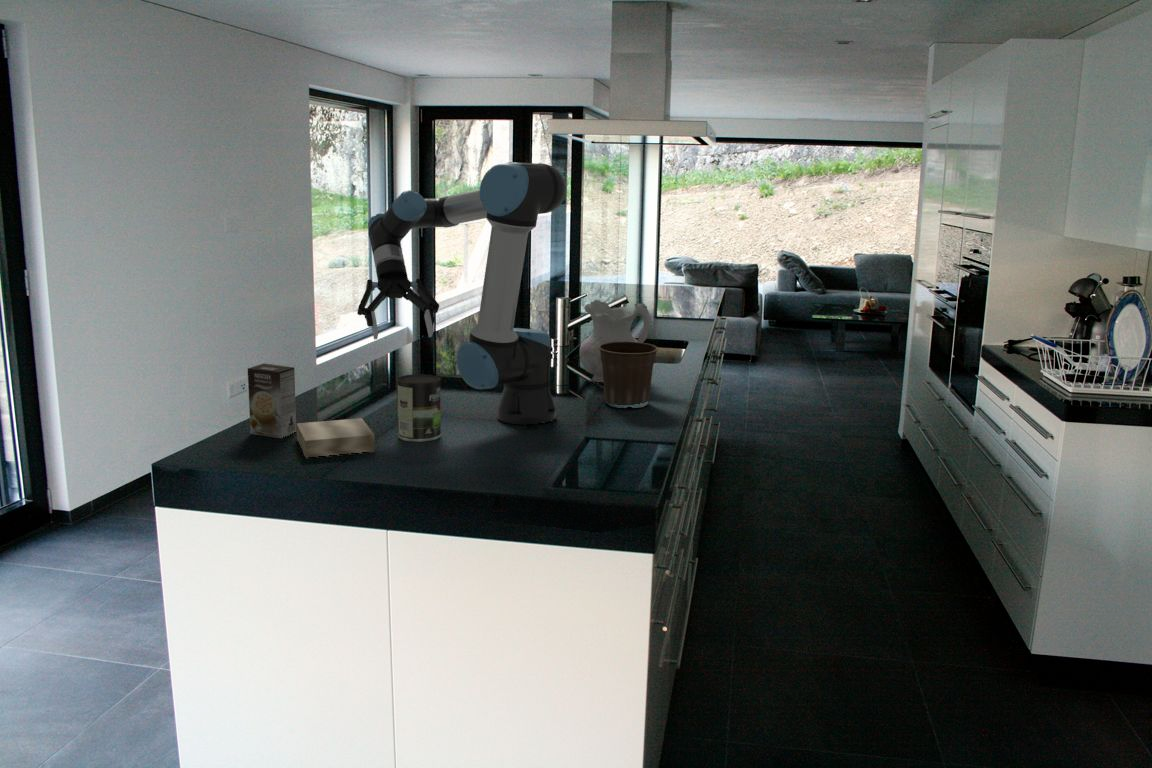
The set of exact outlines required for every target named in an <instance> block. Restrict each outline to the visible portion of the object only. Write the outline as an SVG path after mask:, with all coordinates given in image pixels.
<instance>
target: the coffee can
mask: <svg viewBox="0 0 1152 768" xmlns="http://www.w3.org/2000/svg"><path fill="white" fill-rule="evenodd" d="M441 381H442V379H441V377H439V376H437V375H435V374H434V375H432V374H425V373H424V374H421V373H419V374H405V375H402V376H399V377H398V376H397V378H396V381H395V382H396V385H397V386H396V389H397V390H396V391H397V394H396V395H397V431H398V432H397V438H398V439H400V440H402V441H406V442H412V443H422V442H431V441H435V440H438V439H439V438H441V436H442V429H441V427H442V426H441V421H442V419H441V417H442V416H441V415H442V413H441V406H442V405H441V403H442V402H441V401H442V400H441V396H442V395H441Z"/></svg>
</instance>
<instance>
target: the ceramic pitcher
mask: <svg viewBox="0 0 1152 768" xmlns="http://www.w3.org/2000/svg"><path fill="white" fill-rule="evenodd" d="M634 306H635V307H634V309H633V311H632V312H630V313H629V312H627V311H626V310H625V308H623V307H612V308H611V307H610V304H608V303H607V302H606V301H601V300H599V299H594V300H593V301H590V303H589V304H588V303H587V304H585V305H584V311H585V312H586V313H587V314H589V315H590V317H591V320H592V325H593V327H592V332H591V334H590V335H589V336H587V337H586V338H585V339H583V340H582V341H581V342H580V343H581V344H580V346H579V359H580V363H581V364H582V366H583V368H584V369H585V371H586V372H588V373H590V374H591V375H592V374H593V376H592V378H591V380H594V381H597V382H603V369H602V362H601V356H600V350H599V349H598V346H599V345H601V344H604V343H609V342H639V343H644V342H645V341H646V339H647V337H648V334H649V333H650V330H651V314H650V312H649V309H648V306H647V305H646V304H645V303H642V302H641V303H639V302H638V303H634ZM638 316H639V317H642V320H643V327H642V329H641V331H640V334H638V335H639V336H638V339H636V338H635V337H634V336H633V334H632V332H631V328H632V327H631V326H632V323H633V322H632V321H633V320H634V319H635V318H636V317H638Z"/></svg>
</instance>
